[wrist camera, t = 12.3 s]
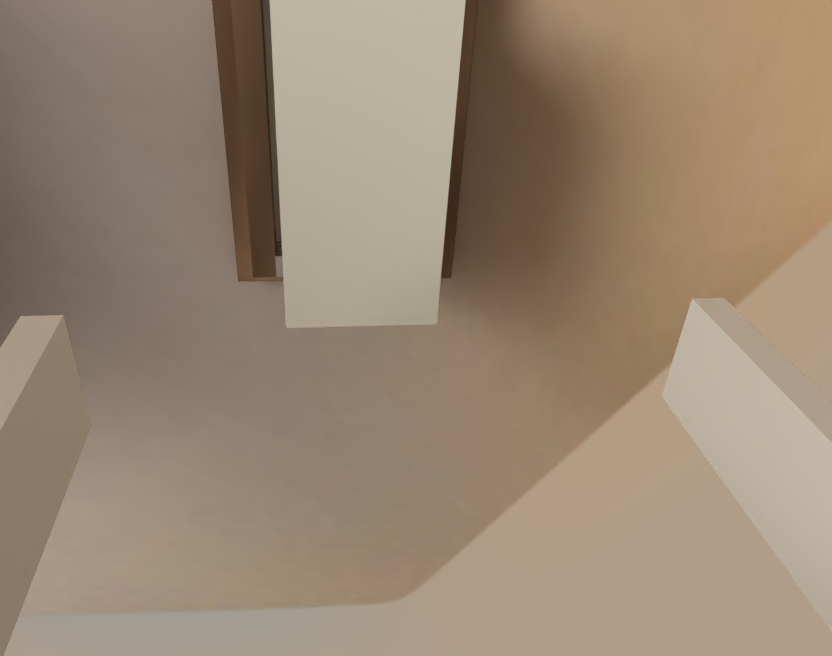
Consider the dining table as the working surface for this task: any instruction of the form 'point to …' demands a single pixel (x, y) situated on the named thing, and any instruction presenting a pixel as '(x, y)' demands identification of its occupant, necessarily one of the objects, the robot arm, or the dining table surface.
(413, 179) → the white lidded box
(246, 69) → the tray
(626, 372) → the dining table surface
